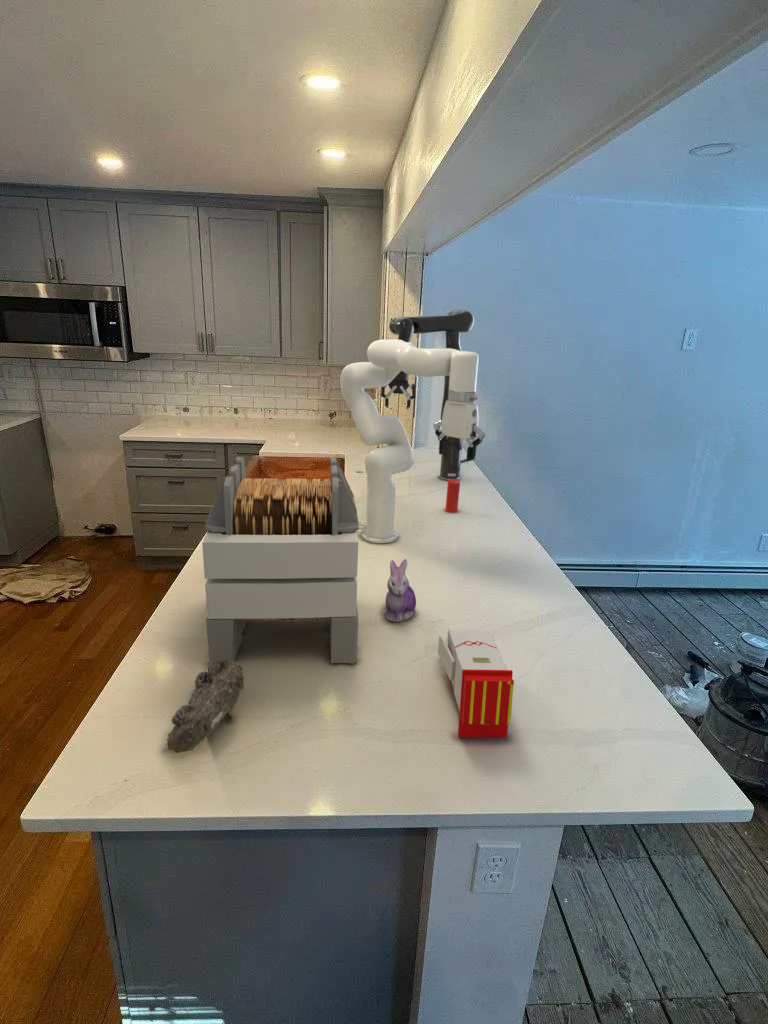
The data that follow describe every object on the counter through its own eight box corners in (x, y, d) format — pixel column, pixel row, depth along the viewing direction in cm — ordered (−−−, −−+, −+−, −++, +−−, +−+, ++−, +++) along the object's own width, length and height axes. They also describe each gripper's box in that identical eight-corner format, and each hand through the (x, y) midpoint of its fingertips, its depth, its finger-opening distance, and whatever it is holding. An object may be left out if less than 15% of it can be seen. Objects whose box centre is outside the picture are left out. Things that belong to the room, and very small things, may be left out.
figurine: (392, 627, 141) (395, 572, 136) (374, 608, 149) (376, 556, 144) (425, 619, 145) (429, 566, 140) (405, 601, 154) (408, 550, 149)
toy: (488, 613, 130) (523, 677, 101) (484, 667, 133) (517, 744, 104) (435, 612, 130) (455, 676, 101) (432, 666, 133) (451, 743, 103)
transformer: (229, 593, 154) (221, 446, 140) (350, 592, 157) (353, 448, 144) (206, 668, 122) (192, 488, 108) (358, 664, 126) (363, 489, 112)
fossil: (192, 660, 117) (244, 628, 112) (224, 691, 120) (276, 661, 115) (142, 746, 98) (202, 712, 93) (182, 779, 101) (242, 748, 96)
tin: (456, 508, 228) (458, 479, 224) (458, 512, 224) (461, 483, 219) (444, 508, 228) (447, 479, 224) (446, 512, 223) (448, 482, 219)
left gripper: (495, 400, 155) (489, 460, 161) (444, 392, 166) (440, 449, 172) (480, 402, 150) (474, 465, 156) (428, 394, 161) (424, 453, 166)
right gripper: (417, 368, 235) (414, 407, 241) (383, 366, 236) (381, 405, 242) (416, 370, 228) (414, 410, 234) (381, 368, 229) (379, 408, 235)
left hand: (456, 456), depth 164 cm, fingers open, 9 cm apart
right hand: (397, 408), depth 238 cm, fingers open, 8 cm apart
